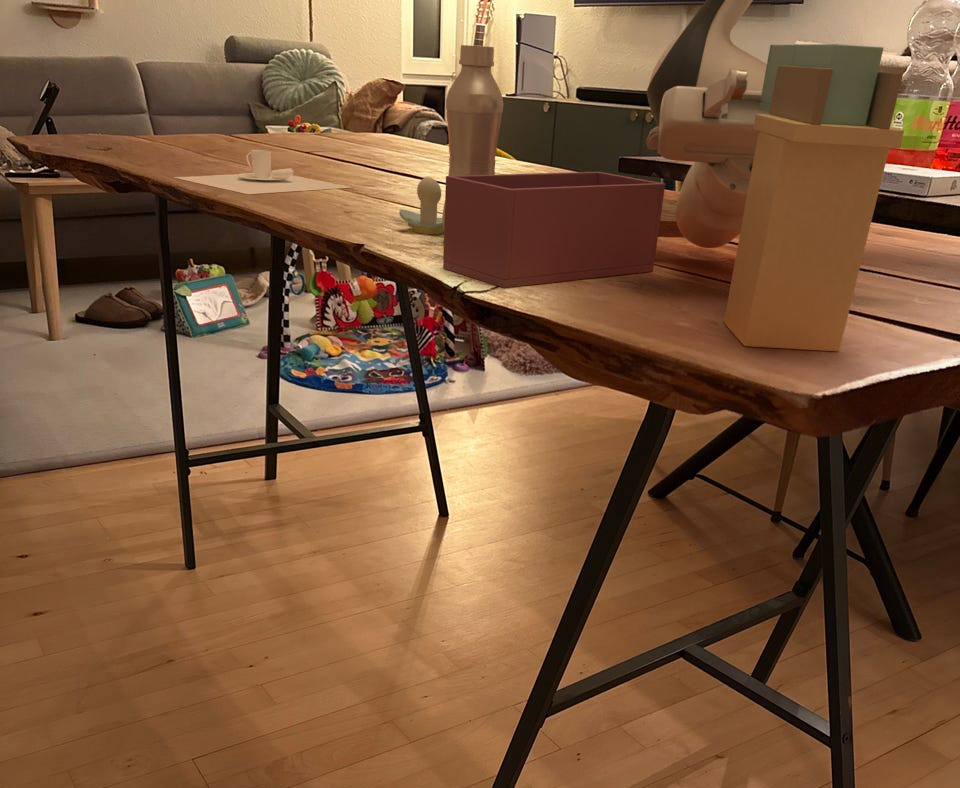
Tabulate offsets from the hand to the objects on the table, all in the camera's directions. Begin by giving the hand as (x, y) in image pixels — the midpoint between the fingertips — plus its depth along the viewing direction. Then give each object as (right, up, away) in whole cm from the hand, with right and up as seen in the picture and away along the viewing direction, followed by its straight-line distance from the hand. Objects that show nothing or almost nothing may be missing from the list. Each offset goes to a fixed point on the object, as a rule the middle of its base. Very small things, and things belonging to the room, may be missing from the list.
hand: (793, 81), depth 83 cm
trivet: (-5, +12, +55) cm, 56 cm away
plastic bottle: (-28, -1, +31) cm, 42 cm away
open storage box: (-19, -8, +20) cm, 29 cm away
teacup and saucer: (-61, +24, +68) cm, 95 cm away
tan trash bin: (-1, -22, 0) cm, 22 cm away
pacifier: (-33, +3, +37) cm, 50 cm away
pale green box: (0, -6, -5) cm, 7 cm away
